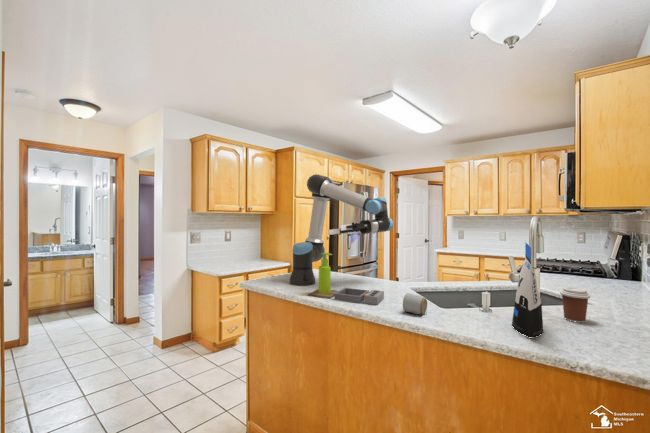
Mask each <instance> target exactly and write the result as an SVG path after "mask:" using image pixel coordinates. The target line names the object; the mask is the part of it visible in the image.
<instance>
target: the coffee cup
mask: <svg viewBox="0 0 650 433" xmlns="http://www.w3.org/2000/svg"><path fill="white" fill-rule="evenodd" d="M559 294H560V295H561V296H562V309H563V319H564V318H566V319H568V320H571V321H576V322H575V323H577V322H585V321H586V322H587V320H586V319H587V310H588V303H589V302H588V301H589V299H590V298H591V295H590V294H589V293H588V290H587V289H584V288H579V287H573V286H565V287H563V289H562V290H560V291H559ZM566 319H565V320H566ZM568 320H567V321H568ZM571 321H570V322H571ZM586 322H585V323H586Z"/></svg>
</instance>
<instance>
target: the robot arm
mask: <svg viewBox="0 0 650 433" xmlns="http://www.w3.org/2000/svg"><path fill="white" fill-rule="evenodd" d="M306 188H307V189H308V191H309V192H310V193H311V198H312V199H313V203H312V209H311V216H310V223H309V228H308V229H309V230H308V237H306V238H305V241H301V242H296V243H294V244H293V246H292V271H291V274H290V277H289V284H291V285H293V286H310V285H314V284H316V277H315V274H314V271H313V263H317V262H319V261H320V260H322V259H323V255H321V253H326V249H325V247H324V240H323V234H324V225H325V219H326V213H327V212H326V211H327V206H328V201H330V200H331V199H333V200H336V201H339V202H340V203H341V202H342V203H344V204H347V205H349V206H351V207H354V208H357V209H360V210H362V211H365V212H367V213H368V214H370V215H374V219H363V220H360V222H358V223H357V222H351V223H350V224H349V223H348V224H341V225H339V228H332V229H328V230H327V231H328V235H331V236H332V235H340V236H341V235H342V234H348V233H358V232H360V233H361V234H363V235H365V234H373V235H374V234H375V233H383V232H389V231H392V229H393V228H394V221H393V219H392V218H390V217H389V214H388V203H387V198H386V197H383V196H382V197H374V198H371V197H368V196H365V195H363V194H362V193H359V192H358V193H357V192H355V191H352V190H351V189H349V188H348V189H347V188H345V187H342V186H339V185H337V184H335V183H334V181H333V180H332V179H331V178H329V177H328V176H324V175H321V174H313V175H311V176H309V177H308V179H307V181H306Z"/></svg>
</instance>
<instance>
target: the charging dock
mask: <svg viewBox="0 0 650 433" xmlns="http://www.w3.org/2000/svg"><path fill="white" fill-rule="evenodd" d="M337 291H338V292H336V293H335V296H334V300H335V301H339V302H340V301H341V302H348V303H353V304H354V303H355V304H362V303H364V304H365V305H371V306H372V305H373V306H378V305H379V304H380V303H382V301H383V300H384V299H385V290H384V291H383V290H377V289H371V290H367V289H360V288H350V287H343V288H341V289H340V290H337Z"/></svg>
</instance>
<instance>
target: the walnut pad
mask: <svg viewBox="0 0 650 433" xmlns="http://www.w3.org/2000/svg"><path fill="white" fill-rule="evenodd" d="M338 291H339V290H333V289H330V294H320V293H319V288H317V289H315V290H313V291H311V292H309V293H307V296H308V297H314V298H320V299H321V298H322V299H329V300H331V299H332V298H335V293H336V292H338Z"/></svg>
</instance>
